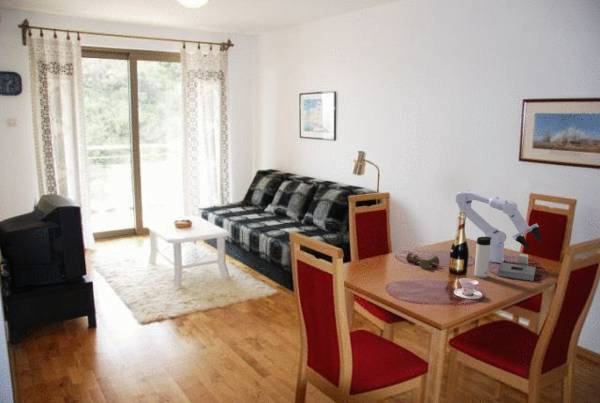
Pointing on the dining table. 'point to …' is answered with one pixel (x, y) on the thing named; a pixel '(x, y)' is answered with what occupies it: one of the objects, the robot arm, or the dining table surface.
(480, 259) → the travel mug
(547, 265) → the dining table surface
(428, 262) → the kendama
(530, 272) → the socket plate
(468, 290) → the teacup
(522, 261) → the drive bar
